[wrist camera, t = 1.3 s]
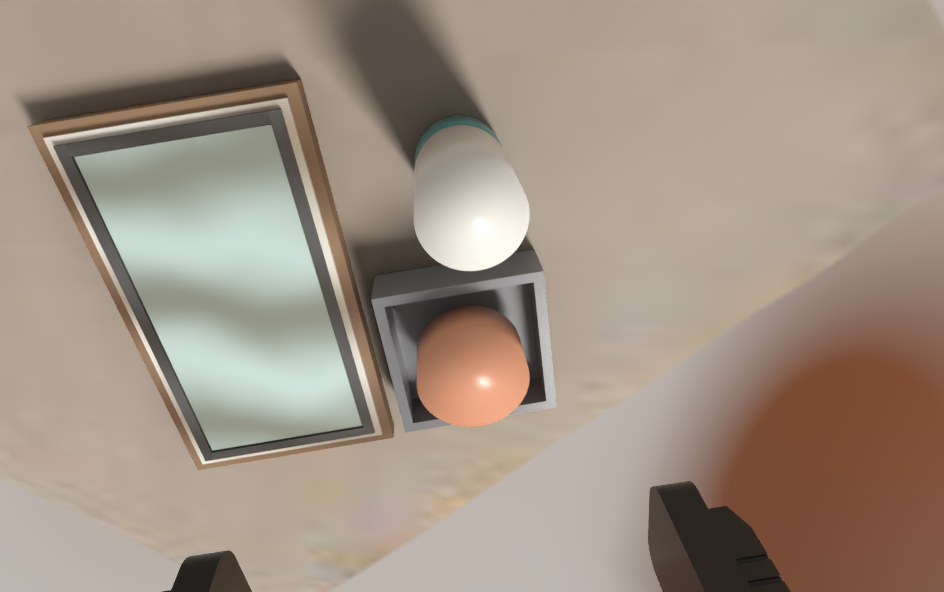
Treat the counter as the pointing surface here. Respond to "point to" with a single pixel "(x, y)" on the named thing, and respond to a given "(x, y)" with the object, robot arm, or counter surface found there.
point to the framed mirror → (227, 268)
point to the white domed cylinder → (467, 196)
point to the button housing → (442, 288)
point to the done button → (471, 366)
